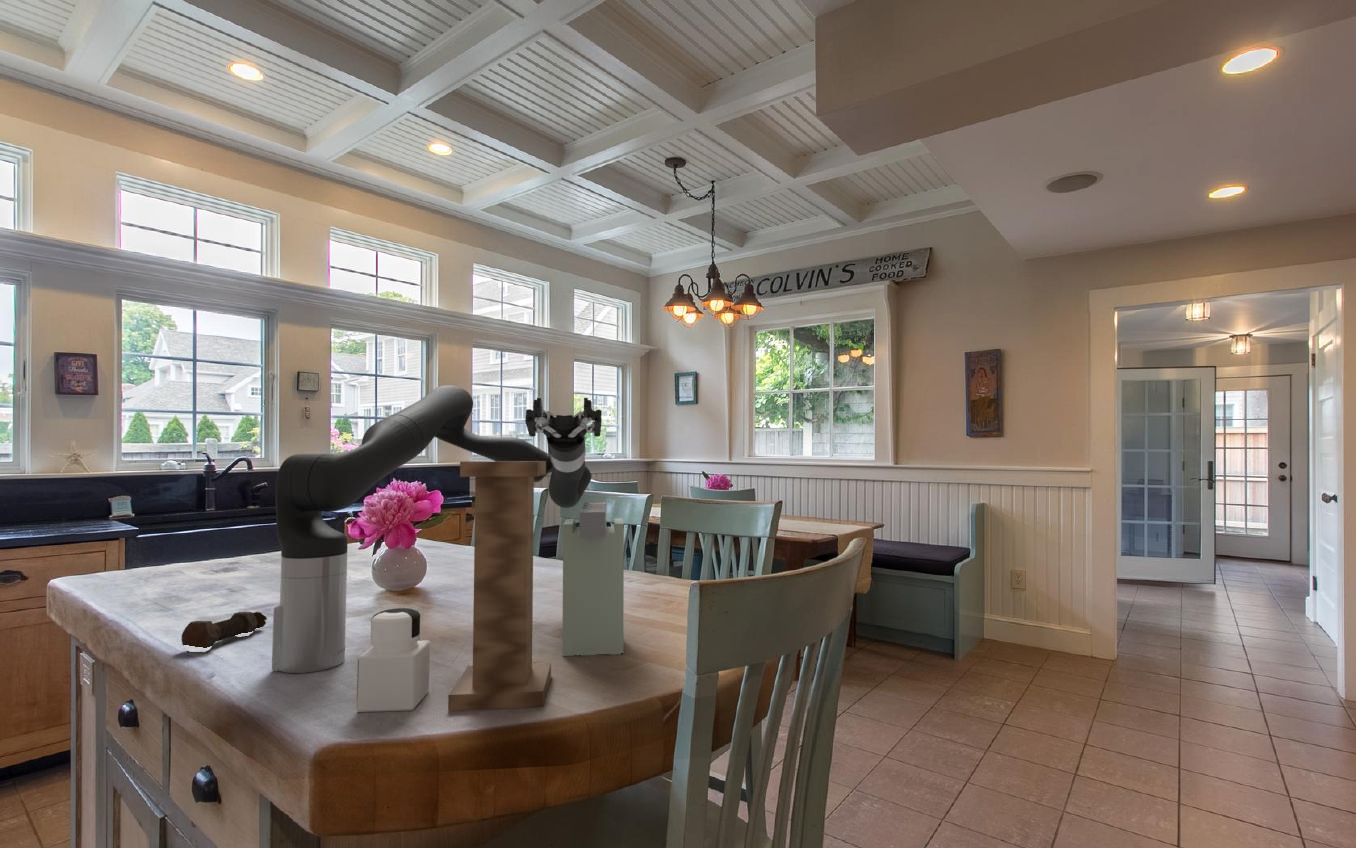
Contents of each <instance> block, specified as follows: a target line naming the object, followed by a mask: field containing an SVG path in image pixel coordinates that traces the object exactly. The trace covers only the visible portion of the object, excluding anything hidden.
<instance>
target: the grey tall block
mask: <svg viewBox="0 0 1356 848" xmlns="http://www.w3.org/2000/svg"><path fill="white" fill-rule="evenodd" d="M562 528H563V530H562V533H563V535H562V632H561V633H562V639H561V640H562V642H561V643H562V648H561V649H562V651H561V653H562V655H561V656H562V657H575V656H574V655H577V656H578V655H581V656H596V655H595V654H610V655H622V654H621V653H623V654H624V601H625V600H624V592H625V591H624V585H625V584H624V581H625V580H624V578H625V577H624V575H625V574H624V572H625V571H624V563H625V562H624V561H625V560H624V558H625V555H624V552H625V551H624V548H625V547H624V545H625V544H624V543H625V542H624V541H625V537H624V535H625V533H624V531H625V529H624V528H625V524H624V519H623V518H622V517H621V518H619V517H618V518H617V517H616V518H613V526H606V533H605V538H579V531H580V526H576V518H566V520H565V521H564V523H563V525H562Z"/></svg>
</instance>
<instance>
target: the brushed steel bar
mask: <svg viewBox="0 0 1356 848" xmlns="http://www.w3.org/2000/svg"><path fill="white" fill-rule="evenodd" d="M579 527H580V531H579V538H605V533H606V527H607V502H606V501H605V502H604V501H602V502H601V501H598V502H597V501H590V502H584V504H583V506H582V508H581V510H579Z"/></svg>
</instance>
